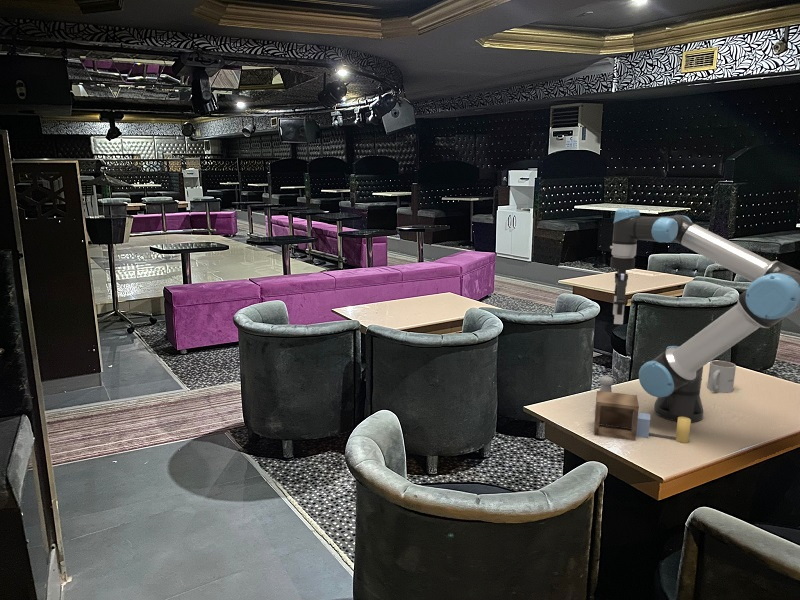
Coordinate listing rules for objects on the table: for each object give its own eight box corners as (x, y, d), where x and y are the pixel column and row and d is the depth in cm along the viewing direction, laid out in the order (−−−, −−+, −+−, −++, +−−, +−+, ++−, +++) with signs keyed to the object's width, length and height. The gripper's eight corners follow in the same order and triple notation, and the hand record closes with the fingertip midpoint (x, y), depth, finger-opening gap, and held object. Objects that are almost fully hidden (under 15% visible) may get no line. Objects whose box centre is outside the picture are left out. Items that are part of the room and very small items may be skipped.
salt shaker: (592, 410, 203) (595, 374, 201) (608, 409, 204) (611, 374, 201) (599, 417, 198) (602, 380, 195) (615, 416, 198) (619, 379, 196)
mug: (715, 383, 231) (718, 359, 229) (737, 390, 223) (740, 365, 221) (696, 389, 224) (699, 364, 222) (718, 396, 217) (722, 370, 215)
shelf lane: (633, 427, 190) (636, 395, 187) (635, 440, 180) (638, 406, 178) (594, 422, 193) (597, 390, 191) (594, 435, 184) (597, 401, 182)
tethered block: (687, 438, 182) (690, 416, 181) (688, 444, 178) (691, 423, 176) (631, 429, 189) (633, 408, 187) (630, 435, 184) (632, 414, 183)
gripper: (610, 251, 207) (605, 310, 212) (612, 261, 184) (606, 327, 189) (633, 252, 205) (627, 311, 210) (637, 262, 182) (631, 329, 186)
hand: (617, 319), depth 199 cm, fingers open, 13 cm apart
